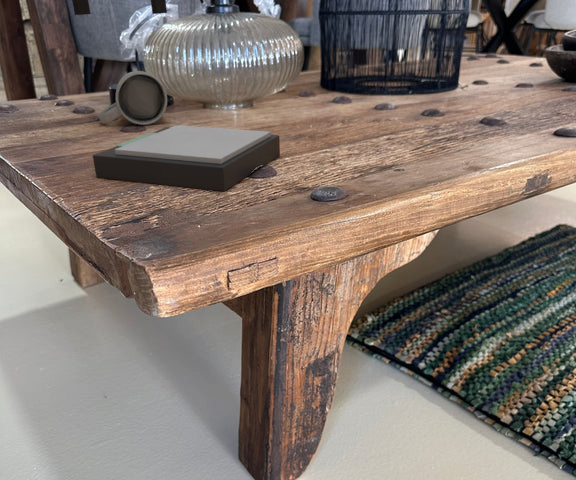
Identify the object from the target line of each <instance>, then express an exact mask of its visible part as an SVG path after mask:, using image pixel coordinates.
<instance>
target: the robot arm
mask: <svg viewBox="0 0 576 480" xmlns="http://www.w3.org/2000/svg"><path fill="white" fill-rule="evenodd" d="M71 1H72V5H73V13H74V16H83V15H91V9H90V3H89V0H71ZM150 6H151V14H153V15H158V14H167V13H168V10H167V9H168V7H167V1H166V0H150Z"/></svg>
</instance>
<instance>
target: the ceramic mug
mask: <svg viewBox="0 0 576 480" xmlns="http://www.w3.org/2000/svg"><path fill="white" fill-rule="evenodd" d="M115 90H116V91H115V102H113V103H112V104H111V105H109V106H107V107H105V108H104V109H102V110H101V111H100V112H99V113H98V114H97V118H98V119H99V121H100V122H101V124H102V125H106V124H109V123H111V122H113V121H115V120H117V119H119V118H120V117H123V118H124V119H125V120H126V121H128V122H130V123H131V124H134V125H137V124H138V126H148V125H152V124H154V123H156V122H158V121H160V119H161V118H162V117H163V116H164V114H165V113H166V110H167V108H168V107H167V106H168V93H167V89H166V88H165V85H164V84H163V83H162V81H161V80H160V79H159V78H158V77H157V76H156V75H153V74H152V73H150V72H146V71H143V70H133V71H130V72H128V73H126V74H124V75H123V76H122V77H121V78H120V79H119V81H118V83H117V86H116V89H115Z"/></svg>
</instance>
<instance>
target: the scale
mask: <svg viewBox="0 0 576 480" xmlns="http://www.w3.org/2000/svg"><path fill="white" fill-rule="evenodd" d="M280 142H281V140H280V134H279V135H278V134H272V132H271V131H266V130H252V129H237V128H226V127H225V128H223V127H211V126H210V127H208V126H192V125H180V124H179V125H178V124H177V125H174V126H172V127H168V126H167V127H164V128H161V129H158V130H156V131H153V132H147V133H145V134H143V135H139V136H137V137H135V138H132V139H129V140H126V141H124V142H121V143H118V144H116V145H115V146H114V147H111V148H108V149H105V150H103V151H100V152H97V153H95V154H93V155H92V160H93V165H94V166H93V167H94V171H95V177H96V178H99V179H107V180H116V181H126V182H134V183H135V182H136V183H145V184H154V185H163V186H164V185H165V186H172V187H180V188H181V187H182V188H188V189H189V188H190V189H199V190H208V191H218V192H226V191H228V190H229V189H231V188H232V187H233V186H235V185H236V184H238V183H240V182H241V181H243V180H244V179H246V178H248V177H249V176H251V175H252V174H251V172H252V171H253V170H254V169H255V168H256V167H258V166H260V165H264V166H266V165H267V164H269V163H271V162H272V161H274V160H276V158H278V157H280V156H281V144H280ZM250 174H251V175H250Z"/></svg>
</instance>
